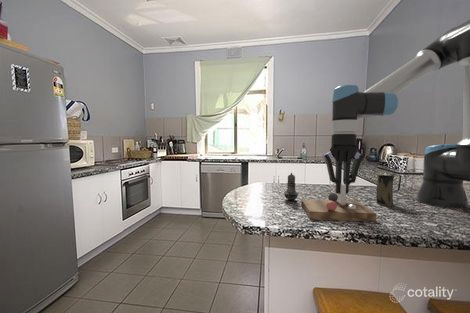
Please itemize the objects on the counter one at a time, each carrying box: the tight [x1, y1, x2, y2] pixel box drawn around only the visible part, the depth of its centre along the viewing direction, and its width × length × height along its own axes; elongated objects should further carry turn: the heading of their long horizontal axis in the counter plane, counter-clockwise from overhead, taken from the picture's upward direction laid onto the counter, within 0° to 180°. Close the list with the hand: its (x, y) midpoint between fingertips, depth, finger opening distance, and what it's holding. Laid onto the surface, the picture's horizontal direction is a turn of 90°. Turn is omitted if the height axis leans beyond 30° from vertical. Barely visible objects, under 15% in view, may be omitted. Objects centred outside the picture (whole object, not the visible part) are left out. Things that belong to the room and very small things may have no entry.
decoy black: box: [328, 192, 338, 202], centre depth 82 cm, size 3×3×3 cm
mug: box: [375, 173, 402, 207], centre depth 87 cm, size 8×6×12 cm
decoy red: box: [326, 201, 337, 211], centre depth 72 cm, size 3×3×3 cm
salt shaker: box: [283, 172, 299, 204], centre depth 91 cm, size 6×6×12 cm
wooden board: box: [300, 199, 378, 222], centre depth 77 cm, size 20×14×2 cm
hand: (341, 202), depth 77 cm, fingers closed
